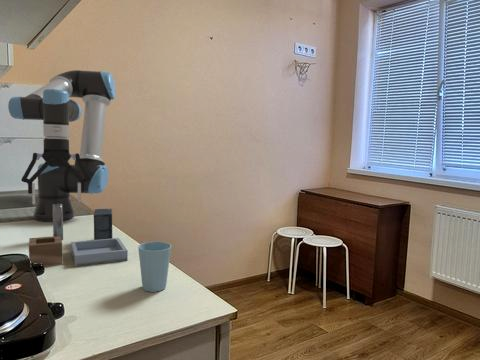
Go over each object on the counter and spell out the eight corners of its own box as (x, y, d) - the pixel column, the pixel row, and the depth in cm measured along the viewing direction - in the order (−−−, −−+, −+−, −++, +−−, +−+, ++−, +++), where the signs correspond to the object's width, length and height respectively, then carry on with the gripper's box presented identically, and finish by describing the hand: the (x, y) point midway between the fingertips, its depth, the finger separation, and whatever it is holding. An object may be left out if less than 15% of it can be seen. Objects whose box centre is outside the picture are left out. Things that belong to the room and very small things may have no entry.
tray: (71, 251, 118) (71, 242, 117) (118, 246, 124) (118, 237, 124) (75, 266, 105) (74, 255, 105) (127, 260, 112) (127, 250, 111)
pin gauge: (53, 238, 130) (52, 203, 129) (62, 238, 131) (62, 203, 130) (53, 241, 127) (52, 205, 126) (63, 240, 129) (62, 205, 127)
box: (95, 239, 132) (94, 208, 130) (112, 238, 133) (112, 208, 132) (93, 245, 124) (93, 213, 123) (112, 245, 126) (112, 213, 125)
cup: (154, 297, 88) (155, 252, 87) (131, 289, 92) (131, 246, 91) (176, 286, 94) (177, 245, 93) (153, 279, 98) (154, 239, 97)
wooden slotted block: (30, 258, 110) (29, 238, 109) (60, 255, 114) (60, 235, 113) (29, 267, 103) (28, 246, 102) (62, 264, 106) (62, 243, 106)
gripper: (11, 136, 116) (12, 206, 118) (98, 139, 128) (98, 202, 130) (12, 136, 123) (14, 202, 125) (95, 139, 134) (95, 199, 137)
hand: (57, 202), depth 127 cm, fingers open, 13 cm apart
